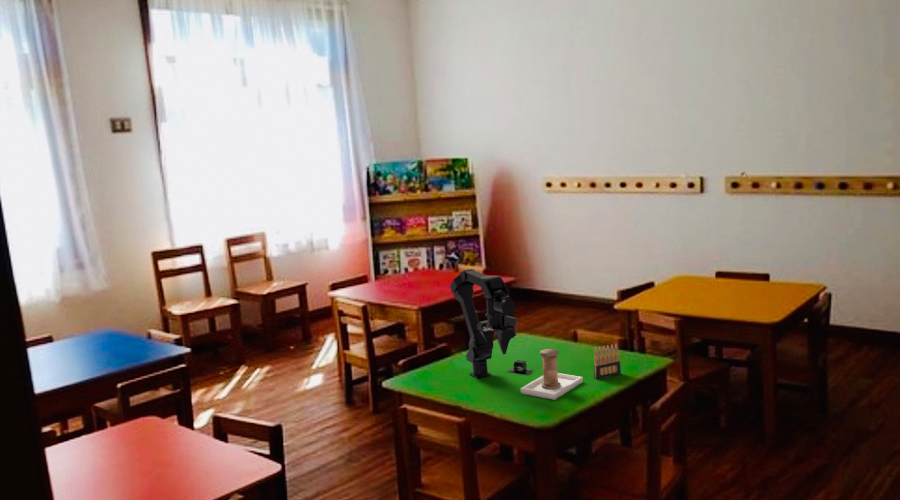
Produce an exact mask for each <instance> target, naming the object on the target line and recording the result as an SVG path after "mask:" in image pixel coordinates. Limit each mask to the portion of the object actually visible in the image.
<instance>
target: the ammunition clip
mask: <svg viewBox="0 0 900 500" xmlns="http://www.w3.org/2000/svg"><path fill="white" fill-rule="evenodd" d="M619 354H620V353H619V347H618V343H617V342H616V343H615V345H613V343H612V344H611V345H610V346H609V345H608V344H607V346H605V345H603V347H602V348H601V346H599V347H598V348H597V347H594V356H593V361H594V362H593V363H594V364H593V379H596V380H601V379H605V378H610V377H613V376H619V375H621V374H622V371H621V369H622V368H621V361H620V355H619Z"/></svg>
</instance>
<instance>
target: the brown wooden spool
mask: <svg viewBox="0 0 900 500" xmlns="http://www.w3.org/2000/svg"><path fill="white" fill-rule="evenodd" d="M559 354H560V351H559V350H558V349H554V348H545V349H541V350H539V355H540V356H541V357H542V359H541V360H542V372H543V373H542V376H543V378H544V382H543V383H542V388H544V389H558V388H560V387H561V384H560V383H559V382H558V373H559V372H558V370H559V369H558V356H559Z"/></svg>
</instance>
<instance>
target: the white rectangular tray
mask: <svg viewBox="0 0 900 500" xmlns="http://www.w3.org/2000/svg"><path fill="white" fill-rule="evenodd" d="M583 380H584V378H583V376H579V375H578V376H577V375H572V374H565V373H560V372H558V382H559V383H560V384H561V387H560V388H558V389H544V388H542V383H543V382H544V378H543V375H541V376H540V377H538V378H536V379H534V380H533V381H531V382H529V383H527V384H526V385H524V386H522V387H520V394H521V395H527V396H533V397H538V398H542V399H548V400H551V401H555V400H557V399H558V398H560V397H562V396H563V395H565V394H567V393H568V392H570V391H571V390H573V389H574V388H576V387H577V386H579V385H581V384H583V382H584V381H583Z"/></svg>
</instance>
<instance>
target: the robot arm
mask: <svg viewBox="0 0 900 500" xmlns="http://www.w3.org/2000/svg"><path fill="white" fill-rule="evenodd" d="M451 281H452V282H451V283H450V288H449V289H450V291H451V293H452V295H453V298H454V299H456V300H457V301H458V302H459V303H460V306H461V311H462V313H463V314H462V315H463V317H464V320H465V324H466V326H467V330H468V333H469V338H470V339H469V342H468V348H469V349H468V350H467V352H466V355H465V356H466V361H467V362H469V363H472V364H471V365H472V372H469V375H470V376H472V377H475V378H476V379H480V378H483V377H489V376H491V375H492V373H491V372H490V371H489V370H488V361H487V360H491V359H492V356H493V349H494V334H495V333H496V336H497V337H496V340H497V343H498V345H499V348H500V351H501V353H502V355H506V354H507V351H508V348H509V343H510V341H511V340H512V339H514V338H515V337H516V336H517V331H516V330H515V328H517V323H518V318H516V317H513V316H511V315H513V314H514V313H515V311H516V304H515V303H516V302H514V301H513V300H512V299H511V296H510V293H509V289H508V287H507V285H506V284H505V282H504V279H503V278H502V277H501V276H499V275H486V274H484V273H481V272H479V271H476V270H475V269H474V268H471V269H470V268H468V269H466V270H464V269H463V270H461V272H460V273H459V274H458V275H457V276H456V277H454V278H453V280H451ZM475 285H476V286H478V287H480V290H481V291H482V292H483V293H484V295H483V298H485V301H486V313H485V314H484V316H485V317H486V318H487V319H486V320H482V321H479V318H478V314H477V311H476V308H475V306H474V302H473V301H474V300H473V295H474V287H475ZM509 326H511V327H509Z"/></svg>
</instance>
